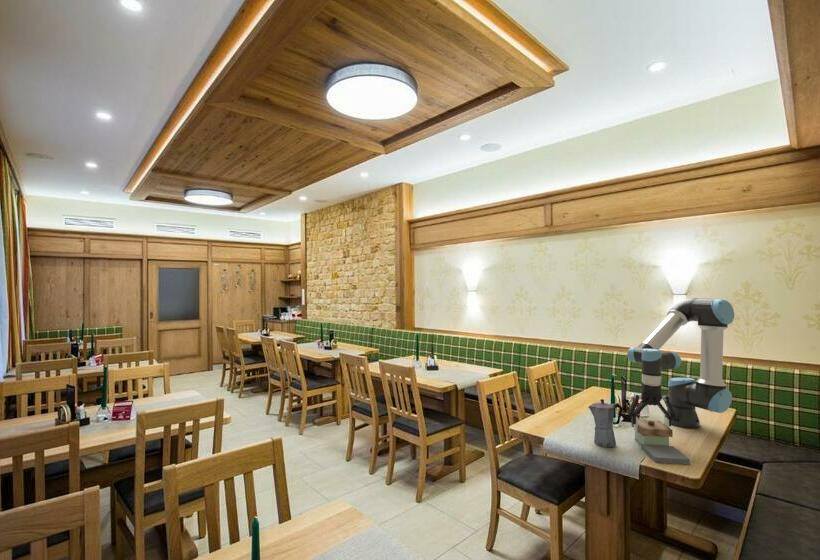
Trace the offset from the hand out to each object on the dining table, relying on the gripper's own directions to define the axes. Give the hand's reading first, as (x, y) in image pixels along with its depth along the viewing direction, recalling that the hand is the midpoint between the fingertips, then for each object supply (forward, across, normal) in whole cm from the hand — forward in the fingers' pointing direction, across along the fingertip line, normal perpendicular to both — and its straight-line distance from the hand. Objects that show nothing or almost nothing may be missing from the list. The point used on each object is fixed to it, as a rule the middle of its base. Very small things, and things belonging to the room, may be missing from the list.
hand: (651, 432), depth 179 cm
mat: (+6, 0, +12) cm, 13 cm away
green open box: (+6, 0, 0) cm, 6 cm away
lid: (0, 0, 0) cm, 0 cm away
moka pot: (+6, +20, +2) cm, 21 cm away
